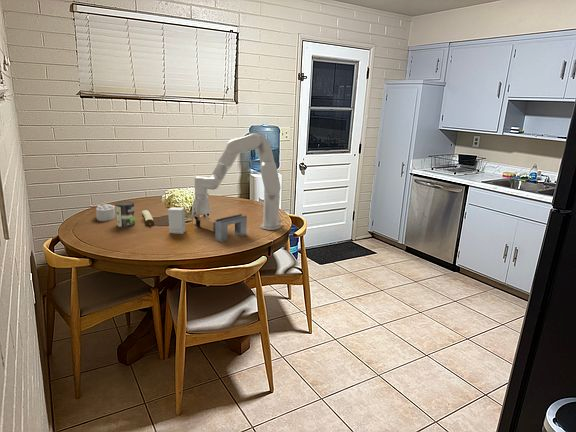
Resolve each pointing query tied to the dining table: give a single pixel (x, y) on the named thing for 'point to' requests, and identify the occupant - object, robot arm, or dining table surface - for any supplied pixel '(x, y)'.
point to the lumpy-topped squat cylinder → (105, 212)
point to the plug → (206, 223)
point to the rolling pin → (148, 217)
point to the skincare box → (176, 220)
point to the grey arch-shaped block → (223, 223)
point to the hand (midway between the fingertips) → (201, 224)
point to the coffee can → (125, 214)
